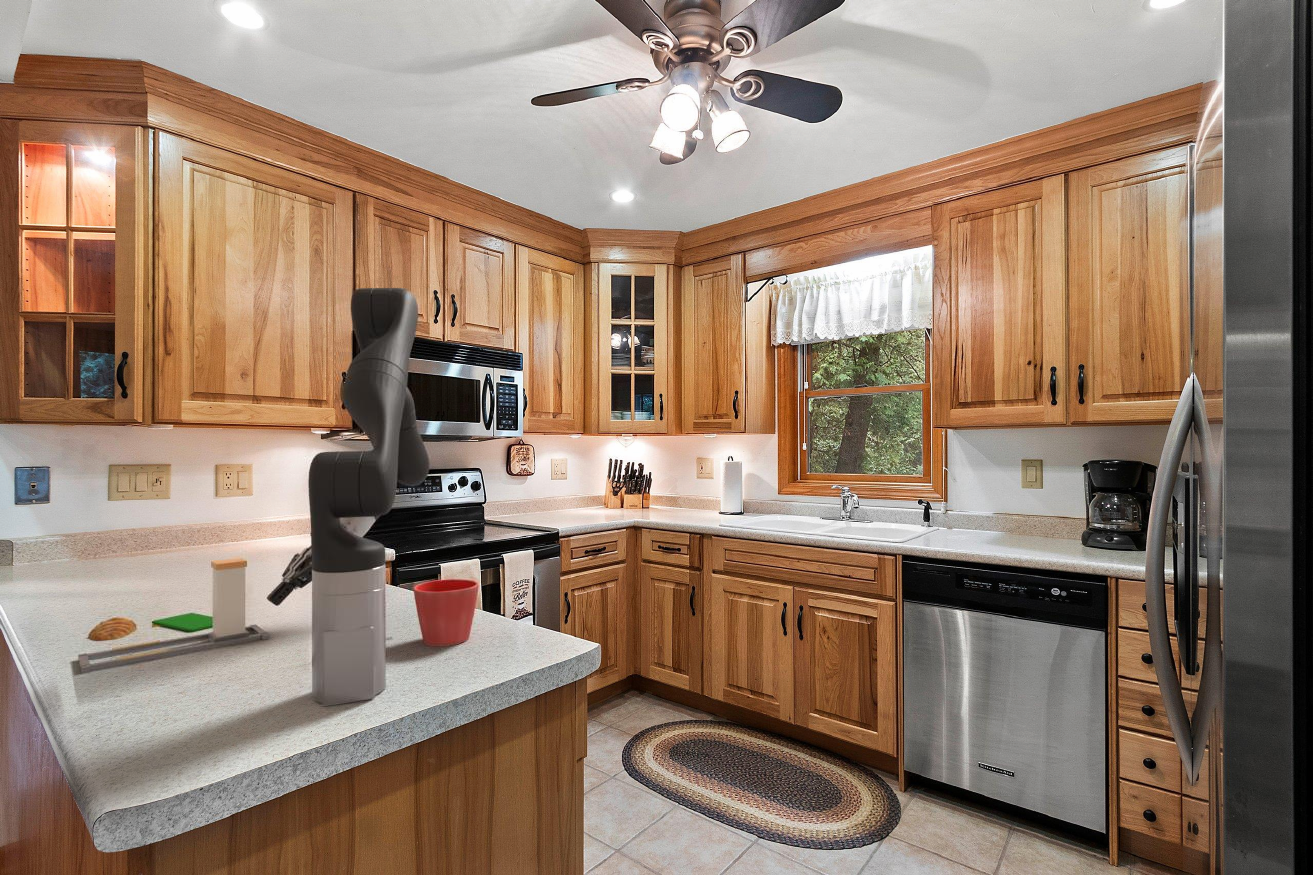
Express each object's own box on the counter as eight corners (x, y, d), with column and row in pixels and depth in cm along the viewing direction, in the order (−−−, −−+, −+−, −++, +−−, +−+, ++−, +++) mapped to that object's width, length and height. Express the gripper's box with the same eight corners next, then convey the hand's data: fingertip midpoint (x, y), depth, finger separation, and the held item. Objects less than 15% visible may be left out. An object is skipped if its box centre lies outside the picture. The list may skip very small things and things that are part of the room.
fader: (242, 633, 114) (242, 557, 114) (249, 639, 110) (249, 560, 110) (208, 639, 110) (208, 561, 111) (214, 645, 107) (214, 564, 107)
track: (255, 636, 117) (255, 623, 117) (268, 646, 110) (268, 632, 110) (78, 668, 100) (78, 653, 100) (81, 683, 94) (81, 666, 94)
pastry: (135, 645, 113) (134, 624, 113) (83, 653, 109) (83, 631, 109) (137, 634, 120) (137, 613, 120) (89, 641, 116) (89, 620, 116)
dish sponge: (190, 642, 115) (190, 629, 115) (150, 633, 121) (150, 620, 121) (232, 632, 121) (232, 619, 121) (192, 624, 128) (192, 612, 128)
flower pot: (482, 644, 110) (482, 587, 111) (414, 652, 106) (414, 593, 107) (475, 629, 120) (475, 576, 121) (413, 635, 116) (412, 581, 117)
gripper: (317, 512, 127) (245, 584, 118) (341, 517, 117) (264, 595, 108) (346, 536, 130) (278, 608, 121) (371, 543, 121) (299, 621, 112)
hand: (271, 602), depth 115 cm, fingers closed
